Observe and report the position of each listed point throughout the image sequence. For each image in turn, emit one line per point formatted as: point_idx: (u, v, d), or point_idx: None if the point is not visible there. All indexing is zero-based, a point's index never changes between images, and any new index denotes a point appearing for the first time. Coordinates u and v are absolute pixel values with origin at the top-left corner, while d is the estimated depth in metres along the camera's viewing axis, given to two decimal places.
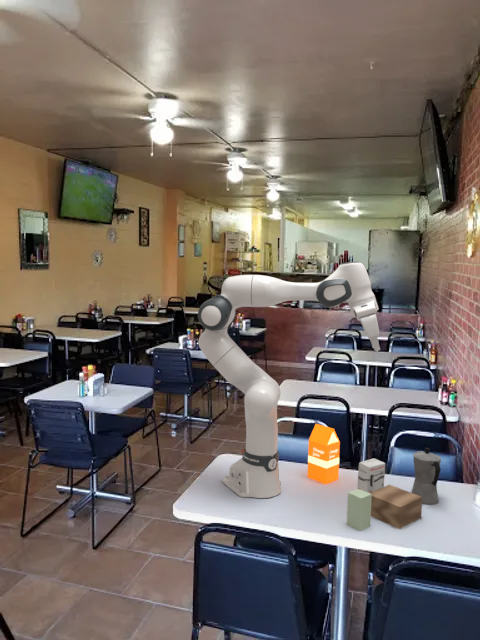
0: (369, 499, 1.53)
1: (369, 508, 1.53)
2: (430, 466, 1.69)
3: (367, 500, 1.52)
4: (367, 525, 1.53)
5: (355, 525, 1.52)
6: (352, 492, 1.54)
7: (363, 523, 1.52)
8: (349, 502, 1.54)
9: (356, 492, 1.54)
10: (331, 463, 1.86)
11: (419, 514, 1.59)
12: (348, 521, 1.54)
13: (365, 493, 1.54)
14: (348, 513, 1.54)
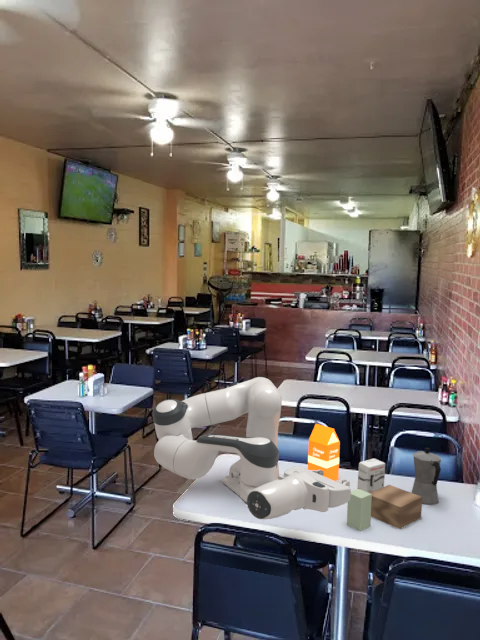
0: (369, 499, 1.53)
1: (369, 508, 1.53)
2: (430, 466, 1.69)
3: (367, 500, 1.52)
4: (367, 525, 1.53)
5: (355, 525, 1.52)
6: (352, 492, 1.54)
7: (363, 523, 1.52)
8: (349, 502, 1.54)
9: (356, 492, 1.54)
10: (331, 463, 1.86)
11: (419, 513, 1.59)
12: (348, 521, 1.54)
13: (365, 493, 1.54)
14: (348, 513, 1.54)
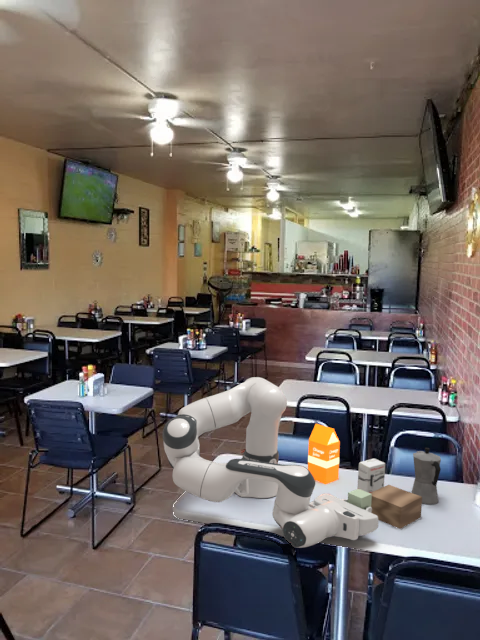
0: (369, 499, 1.53)
1: None
2: (430, 466, 1.69)
3: (367, 499, 1.52)
4: None
5: None
6: (352, 492, 1.54)
7: None
8: (349, 502, 1.54)
9: (356, 492, 1.54)
10: (331, 463, 1.86)
11: (419, 513, 1.59)
12: None
13: (365, 493, 1.54)
14: None
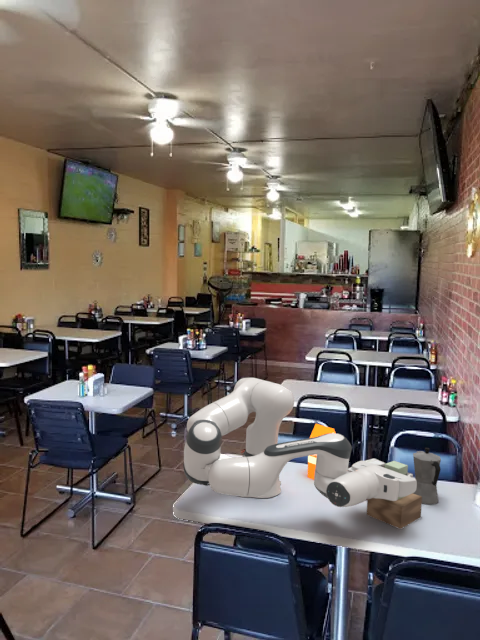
0: (405, 470, 1.59)
1: None
2: (430, 466, 1.69)
3: (403, 470, 1.58)
4: None
5: None
6: (389, 463, 1.60)
7: None
8: None
9: (393, 464, 1.60)
10: None
11: (419, 513, 1.60)
12: None
13: (401, 464, 1.60)
14: None
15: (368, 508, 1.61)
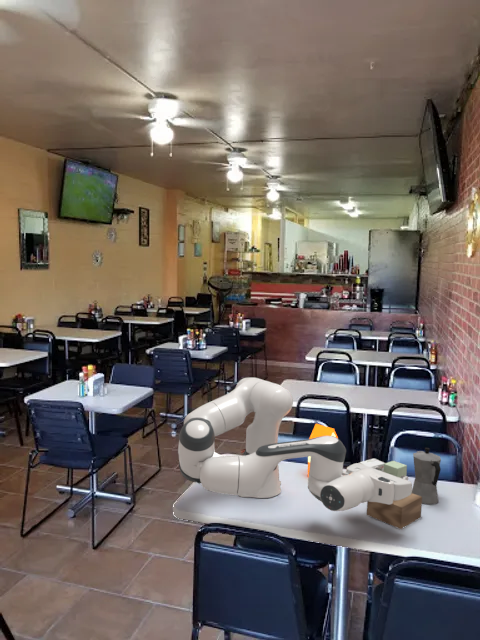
0: (404, 470, 1.59)
1: None
2: (430, 466, 1.69)
3: (402, 470, 1.58)
4: None
5: None
6: (388, 463, 1.60)
7: None
8: None
9: (392, 464, 1.60)
10: None
11: (419, 513, 1.60)
12: None
13: (400, 464, 1.60)
14: None
15: (368, 508, 1.61)
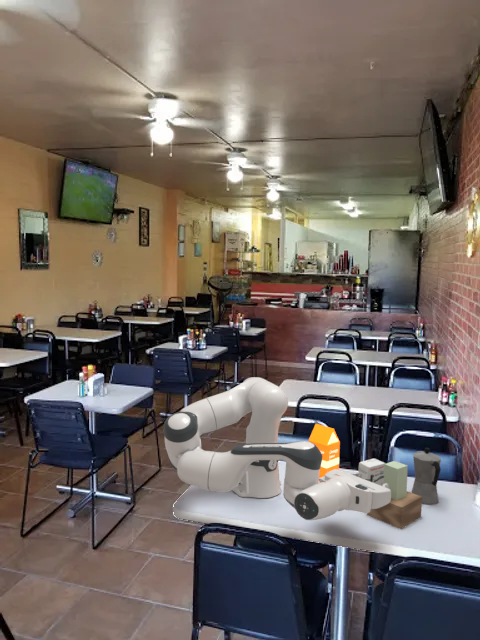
0: (405, 470, 1.58)
1: (405, 479, 1.59)
2: (430, 466, 1.69)
3: (403, 471, 1.58)
4: (403, 495, 1.59)
5: (392, 495, 1.58)
6: (388, 464, 1.60)
7: (399, 493, 1.58)
8: (385, 473, 1.60)
9: (392, 464, 1.60)
10: (331, 463, 1.86)
11: (419, 513, 1.60)
12: None
13: (401, 465, 1.59)
14: None
15: None
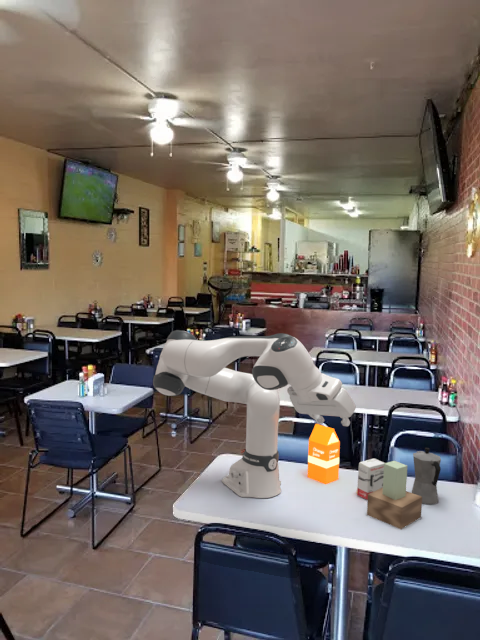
0: (405, 470, 1.58)
1: (405, 479, 1.59)
2: (430, 466, 1.69)
3: (402, 470, 1.58)
4: (402, 495, 1.59)
5: (391, 494, 1.58)
6: (388, 463, 1.60)
7: (398, 493, 1.58)
8: (385, 473, 1.60)
9: (392, 464, 1.60)
10: (331, 463, 1.86)
11: (419, 513, 1.60)
12: (384, 491, 1.61)
13: (401, 464, 1.59)
14: (384, 483, 1.60)
15: (368, 508, 1.61)
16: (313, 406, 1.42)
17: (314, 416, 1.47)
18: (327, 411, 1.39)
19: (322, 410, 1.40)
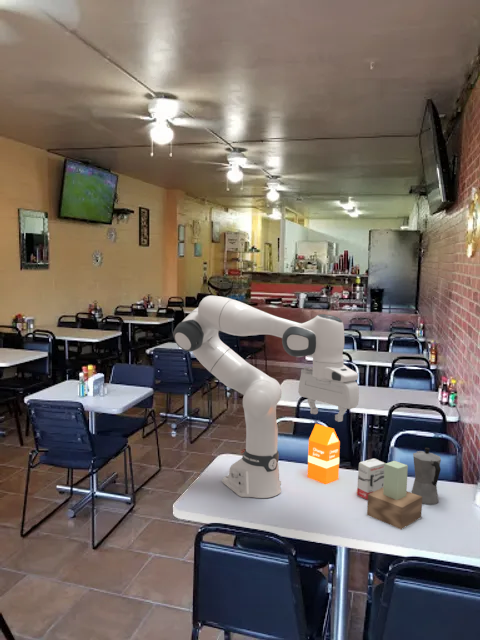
0: (405, 470, 1.59)
1: (405, 479, 1.59)
2: (430, 466, 1.69)
3: (403, 470, 1.58)
4: (403, 495, 1.59)
5: (392, 495, 1.58)
6: (388, 463, 1.60)
7: (399, 493, 1.58)
8: (386, 473, 1.60)
9: (393, 464, 1.60)
10: (331, 463, 1.86)
11: (419, 513, 1.60)
12: (385, 491, 1.60)
13: (401, 464, 1.60)
14: (384, 483, 1.60)
15: (368, 508, 1.61)
16: (319, 389, 1.48)
17: (311, 404, 1.52)
18: (330, 397, 1.45)
19: (326, 395, 1.46)
